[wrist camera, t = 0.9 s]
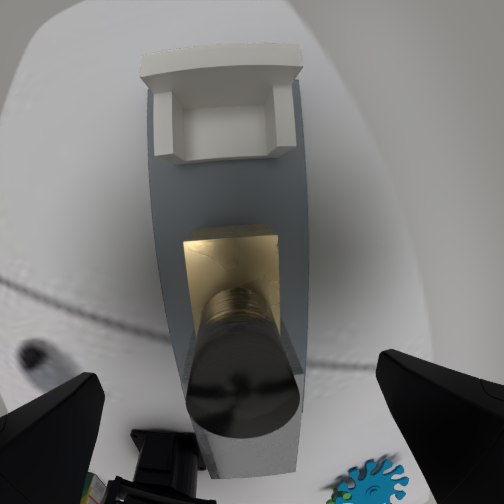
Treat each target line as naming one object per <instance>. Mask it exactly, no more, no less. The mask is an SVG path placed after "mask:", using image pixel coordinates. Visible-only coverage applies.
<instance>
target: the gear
mask: <svg viewBox="0 0 504 504" xmlns="http://www.w3.org/2000/svg"><path fill="white" fill-rule="evenodd" d="M392 465H393V463H392V462H391V461H389V460H387V459H385V460H384V461H383V462H382V465H381V467H380V469H379V470H378V471H377V472H375V473H374V474H370V472H371V471H372V470H373V469H374V468H375V467H376V462H374V461H368V462H366V464H365V466H366V473H365V475H364V477H363V478H362V479H358V476H359V474H360V472H359V470H358V469H357V468H356V469H353V470H351V471H349V475H350V477H351V478H353V479H354V481H355V486H354V487H353V488H348V485H347V483H346V482H345V481H342V482H341V483H340V484H339V485H338V486H337V488H338V489H334V490H333V494H332V495H331V498H332V499H330V500H328V501H327V502H326V504H343V503H353V504H384V503H386V504H392V503H390V496H391V495H393V494H395V496H396V498H397V499H398V500H401V499H402V498H403V497H404V496H405V495H406V493H405V492H404V491H397V490H395V489H394V486H395V485H396V484H397V483H400V484H401V485H402V486H406V485H407V484H408V481H409V478H408V477H402V478H400V479H396V480H393V479H391V477H392V476H393V475H394V474H399V475H400V474H402V473H404V468H403V466H401V465H398V466H396V467H395V469H394V470H392V471H391V472H389V473H386V474H383V471H384V470H385V469H388V468H390V467H391V466H392ZM338 490H339V491H338Z"/></svg>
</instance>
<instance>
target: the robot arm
mask: <svg viewBox="0 0 504 504" xmlns="http://www.w3.org/2000/svg"><path fill="white" fill-rule="evenodd" d="M376 378H377V381H378V383H379V386H380V388H381V390H382V393H383V395H384V398H385V400H386V403H387V405H388V408H389V410H390V412H391V414H392V416H393V418H394V420H395V422H396V424H397V426H398V428H399V429H400V431H401V433H402V435H403V437H404V439H405V441H406V442H407V444H408V446H409V448H410V450H411V452H412V454H413V456H414V458H415V460H416V462H417V464H418V466H419V468H420V470H421V471H422V473H423V475H424V477H425V480H426V482H427V484H428V486H429V488H430V490H431V492H432V494H433V496H434V498H435V500H436V502H437V504H504V385H501V384H497V383H493V382H490V381H486V380H483V379H479V378H476V377H473V376H470V375H467V374H464V373H461V372H458V371H455V370H452V369H448V368H445V367H443V366H439V365H437V364H434V363H431V362H428V361H425V360H422V359H419V358H416V357H414V356H411V355H408V354H405V353H402V352H400V351H397V350H394V349H389V350H385V351H382V352H381V353H380V354H379V358H378V363H377V368H376ZM104 401H105V394H104V391H103V388H102V386H101V384H100V381H99V379H98V377H97V375H96V374H95V373H90V372H83V373H82V374H80V375H78V376H76V377H74V378H73V379H71V380H69V381H67V382H65V383H64V384H62V385H60V386H58V387H56V388H54V389H53V390H51V391H49V392H47V393H45V394H43V395H42V396H40V397H38V398H36V399H34V400H32V401H31V402H29V403H27V404H25V405H23V406H21V407H19V408H17V409H16V410H14V411H12V412H10V413H8V415H7V414H6V415H4V416H2V417H0V504H80V503H81V498H82V494H83V489H84V485H85V481H86V477H87V473H88V469H89V465H90V461H91V457H92V454H93V450H94V447H95V443H96V440H97V436H98V431H99V426H100V421H101V415H102V410H103V406H104ZM130 436H131V438H132V439H133V441H134V443H135V445H136V447H137V448H138V450H139V452H140V454H139V458H138V462H137V466H136V470H135V474H134V478H133V482H131V481H128V480H125V479H122V477H119V476H116V478H115V480H109V481H108V484H107V487H106V491H105V493H104V496H103V498H102V500H101V502H100V504H217V503H216V500H204V499H198V498H196V487H197V471H198V470H200V471H203V470H206V469H207V466H206V463H205V461H204V458H203V455H202V452H201V449H200V446H199V443H198V440H197V437H196V435H194V434H180V433H160V432H147V431H137V430H132V431H131V434H130ZM120 499H121V500H124V502H122V501H120Z"/></svg>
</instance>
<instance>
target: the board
mask: <svg viewBox="0 0 504 504" xmlns="http://www.w3.org/2000/svg"><path fill="white" fill-rule="evenodd" d="M292 95H293V106H294V118H295V130H296V144H297V146H296V147H294V148H293V149H291V150H290V151H288V152H286V153H285V154H283V155H282V156H280V157H279V158H258V159H238V160H223V161H210V162H198V163H188V164H179V165H174V164H172V163H170V162H167V161H165V160H163V159H160V158H158V157H156V156H154V125H153V103H154V94H153V93H152V91H151V90H150V89H148V101H147V135H148V165H149V183H150V197H151V209H152V220H153V229H154V238H155V246H156V254H157V262H158V269H159V275H160V282H161V288H162V294H163V300H164V306H165V311H166V316H167V322H168V327H169V332H170V336H171V341H172V346H173V350H174V355H175V359H176V363H177V367H178V372H179V376H180V380H182V375H183V371H184V366H185V362H186V357H187V353H188V348H189V344H190V340H191V335H192V331H193V327H194V320H193V314H192V307H191V300H190V293H189V285H188V278H187V270H186V261H185V253H184V243H183V242H184V240H185V239H186V238H187V237H188V236H189V235H190V233H191V232H192V231H193V230H194V229H195V228H207V227H220V226H234V225H249V224H264V223H266V224H267V225H268V226H269V227H270V228H271V229H272V230H273V231H274V232H275V233H276V234H277V235H278V256H279V290H280V315H281V317H282V320H283V322H284V325H285V327H286V330H287V332H288V335H289V337H290V340H291V342H292V345H293V347H294V350H295V352H296V355H297V357H298V360H299V362H300V365H301V367H302V370H303V372H304V386H303V400H302V412H303V401H304V387H305V372H306V353H307V329H308V275H309V261H308V207H307V182H306V163H305V147H304V133H303V121H302V109H301V99H300V89H299V80H294V82H293V83H292Z"/></svg>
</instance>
